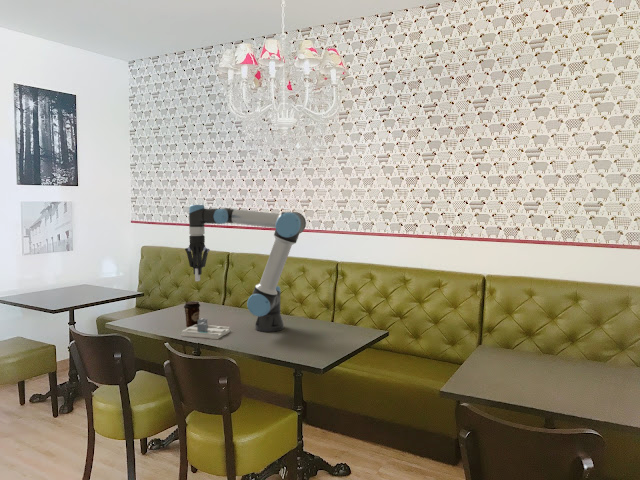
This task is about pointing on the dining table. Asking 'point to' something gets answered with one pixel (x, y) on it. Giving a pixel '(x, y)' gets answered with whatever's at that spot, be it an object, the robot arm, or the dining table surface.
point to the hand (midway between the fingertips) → (197, 280)
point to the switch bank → (212, 333)
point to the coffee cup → (192, 313)
